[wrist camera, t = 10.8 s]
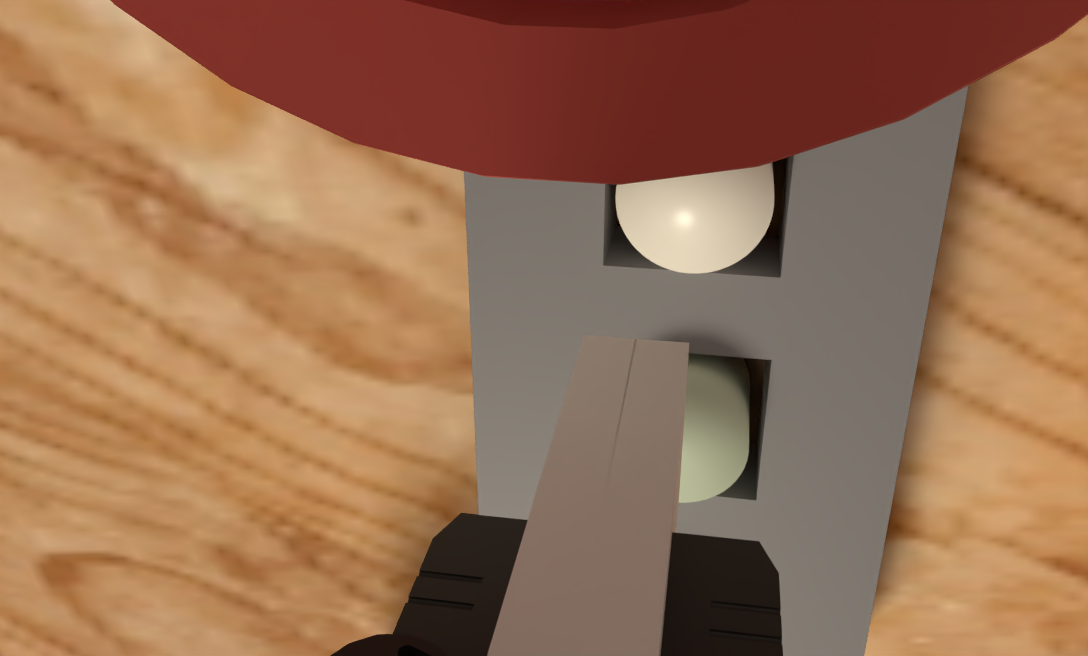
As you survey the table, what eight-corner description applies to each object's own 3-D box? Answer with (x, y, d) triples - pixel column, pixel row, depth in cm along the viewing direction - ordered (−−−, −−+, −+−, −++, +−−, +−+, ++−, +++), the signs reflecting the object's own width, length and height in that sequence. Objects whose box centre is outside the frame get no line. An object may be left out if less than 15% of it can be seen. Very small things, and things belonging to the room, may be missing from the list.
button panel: (487, 35, 27) (459, 57, 25) (948, 49, 25) (970, 75, 23) (504, 600, 36) (484, 661, 34) (846, 644, 34) (853, 712, 32)
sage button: (625, 321, 30) (610, 378, 27) (755, 331, 29) (755, 391, 26) (621, 429, 32) (606, 495, 28) (744, 442, 31) (742, 509, 28)
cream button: (633, 86, 27) (617, 120, 24) (779, 91, 26) (782, 127, 23) (628, 220, 28) (613, 268, 25) (765, 228, 28) (766, 278, 25)
